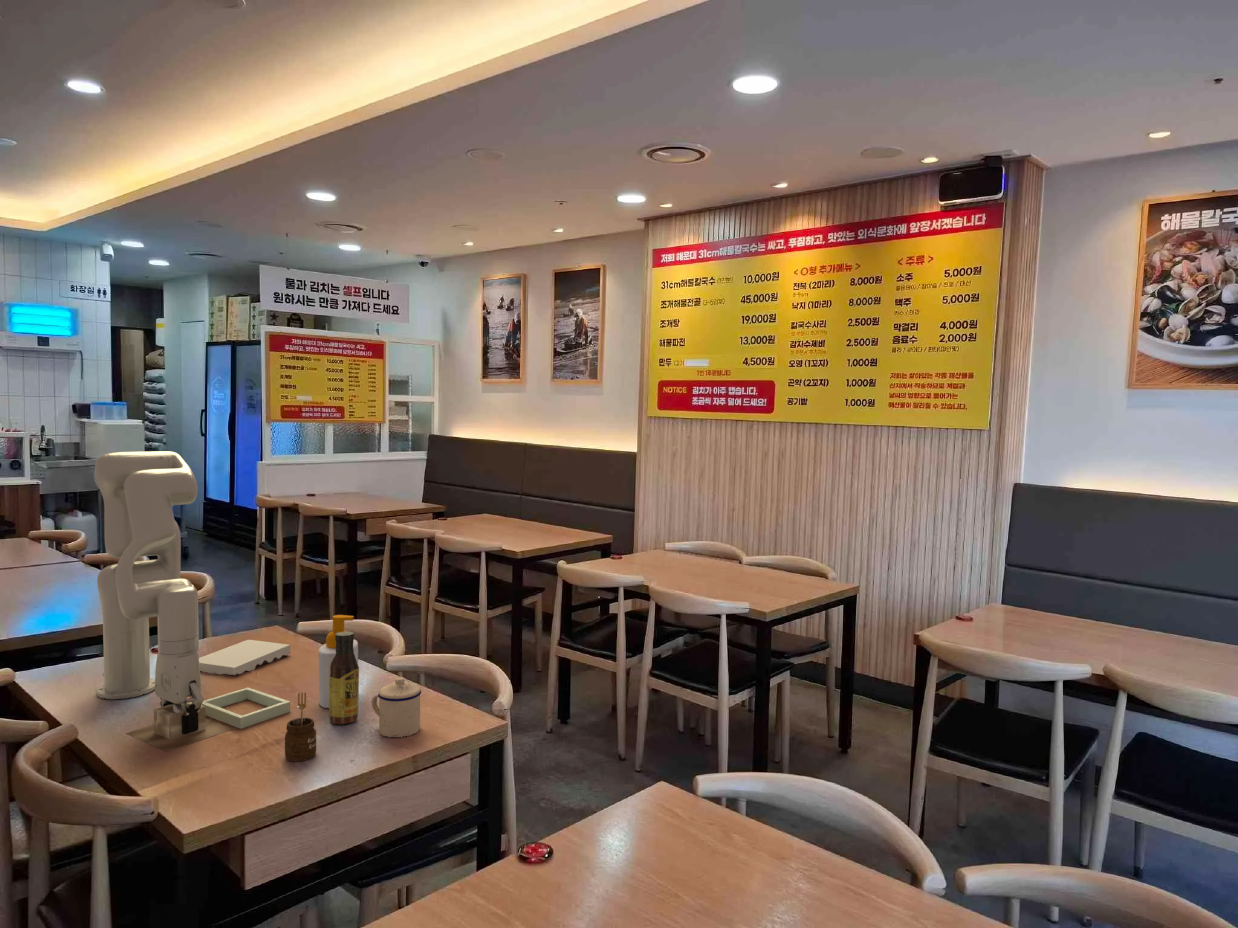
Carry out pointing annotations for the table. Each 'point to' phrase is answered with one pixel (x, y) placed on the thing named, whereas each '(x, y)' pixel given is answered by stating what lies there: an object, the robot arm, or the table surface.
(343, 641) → the sauce bottle
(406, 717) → the teacup with lid
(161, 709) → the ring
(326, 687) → the soap bottle
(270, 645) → the cream wavy-edged slab
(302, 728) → the utensil holder
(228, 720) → the tray
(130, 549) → the robot arm
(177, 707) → the cylinder
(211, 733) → the stake board
